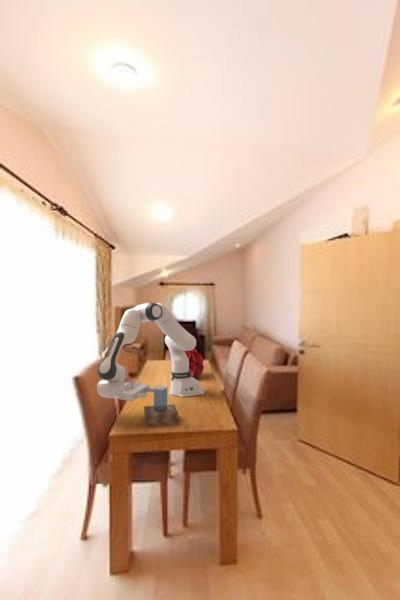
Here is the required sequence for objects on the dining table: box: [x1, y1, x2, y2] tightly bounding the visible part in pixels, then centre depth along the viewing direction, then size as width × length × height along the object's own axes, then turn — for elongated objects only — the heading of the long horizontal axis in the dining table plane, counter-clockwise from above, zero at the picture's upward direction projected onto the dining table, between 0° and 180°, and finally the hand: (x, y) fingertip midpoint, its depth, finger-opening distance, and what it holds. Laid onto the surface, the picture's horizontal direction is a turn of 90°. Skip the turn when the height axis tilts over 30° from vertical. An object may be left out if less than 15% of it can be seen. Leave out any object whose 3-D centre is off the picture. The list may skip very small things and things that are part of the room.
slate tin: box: [153, 384, 169, 412], centre depth 182 cm, size 5×5×12 cm
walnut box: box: [143, 403, 179, 428], centre depth 182 cm, size 16×14×6 cm
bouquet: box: [185, 348, 205, 378], centre depth 276 cm, size 22×24×30 cm
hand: (150, 393), depth 184 cm, fingers open, 8 cm apart
